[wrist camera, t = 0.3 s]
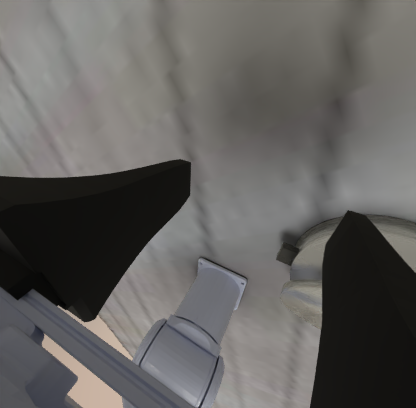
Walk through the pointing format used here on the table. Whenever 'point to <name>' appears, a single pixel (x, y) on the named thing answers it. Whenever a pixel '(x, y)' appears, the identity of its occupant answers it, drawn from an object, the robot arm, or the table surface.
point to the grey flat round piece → (319, 235)
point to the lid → (304, 299)
